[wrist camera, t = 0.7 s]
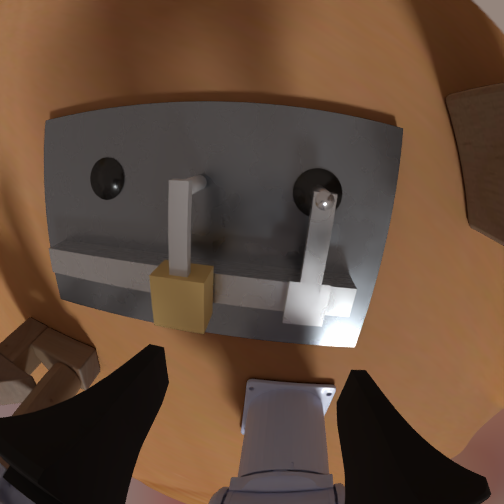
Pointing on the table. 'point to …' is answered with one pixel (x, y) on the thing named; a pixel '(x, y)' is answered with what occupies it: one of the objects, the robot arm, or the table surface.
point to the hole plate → (226, 211)
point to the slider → (182, 268)
